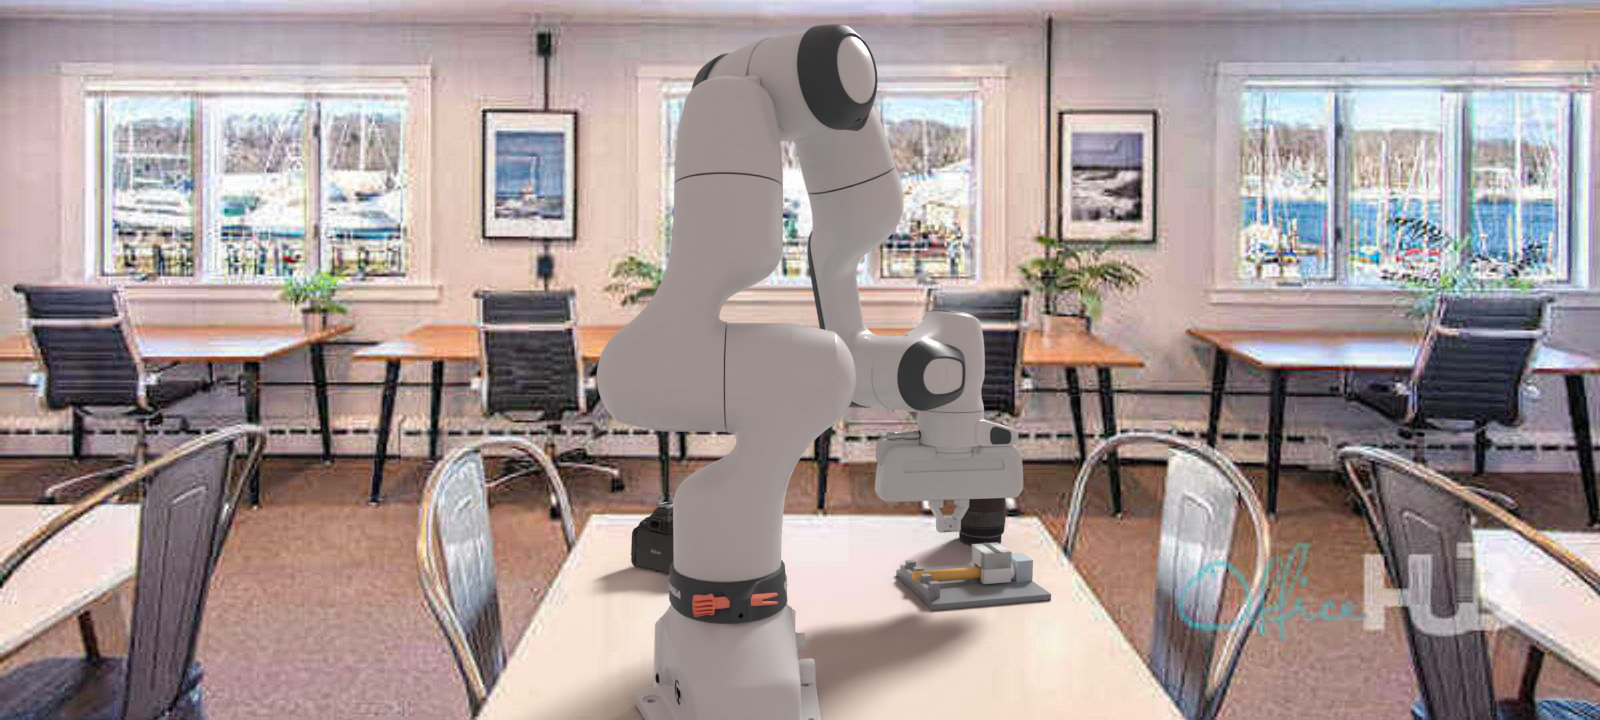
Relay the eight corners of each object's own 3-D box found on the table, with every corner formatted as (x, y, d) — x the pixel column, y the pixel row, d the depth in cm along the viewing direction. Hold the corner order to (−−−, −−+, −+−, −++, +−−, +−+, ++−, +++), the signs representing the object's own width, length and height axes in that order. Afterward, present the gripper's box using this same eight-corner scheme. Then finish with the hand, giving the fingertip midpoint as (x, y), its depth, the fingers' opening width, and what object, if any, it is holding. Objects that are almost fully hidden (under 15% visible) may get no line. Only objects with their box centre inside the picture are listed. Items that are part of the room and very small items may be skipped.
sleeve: (1010, 581, 130) (1011, 551, 130) (984, 584, 129) (984, 553, 129) (996, 571, 134) (997, 541, 134) (970, 573, 133) (971, 543, 133)
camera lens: (944, 536, 155) (946, 447, 153) (985, 531, 158) (987, 443, 157) (973, 550, 148) (976, 457, 146) (1015, 544, 151) (1018, 452, 149)
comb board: (1050, 599, 126) (1052, 572, 126) (932, 610, 122) (933, 581, 122) (1004, 566, 140) (1005, 541, 140) (896, 575, 136) (896, 549, 136)
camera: (728, 561, 142) (728, 496, 141) (713, 583, 132) (713, 514, 131) (643, 556, 144) (642, 492, 143) (622, 578, 134) (621, 510, 133)
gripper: (882, 435, 122) (881, 540, 123) (1029, 432, 126) (1027, 533, 127) (869, 428, 128) (868, 528, 129) (1009, 425, 132) (1007, 522, 133)
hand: (948, 531), depth 128 cm, fingers closed
